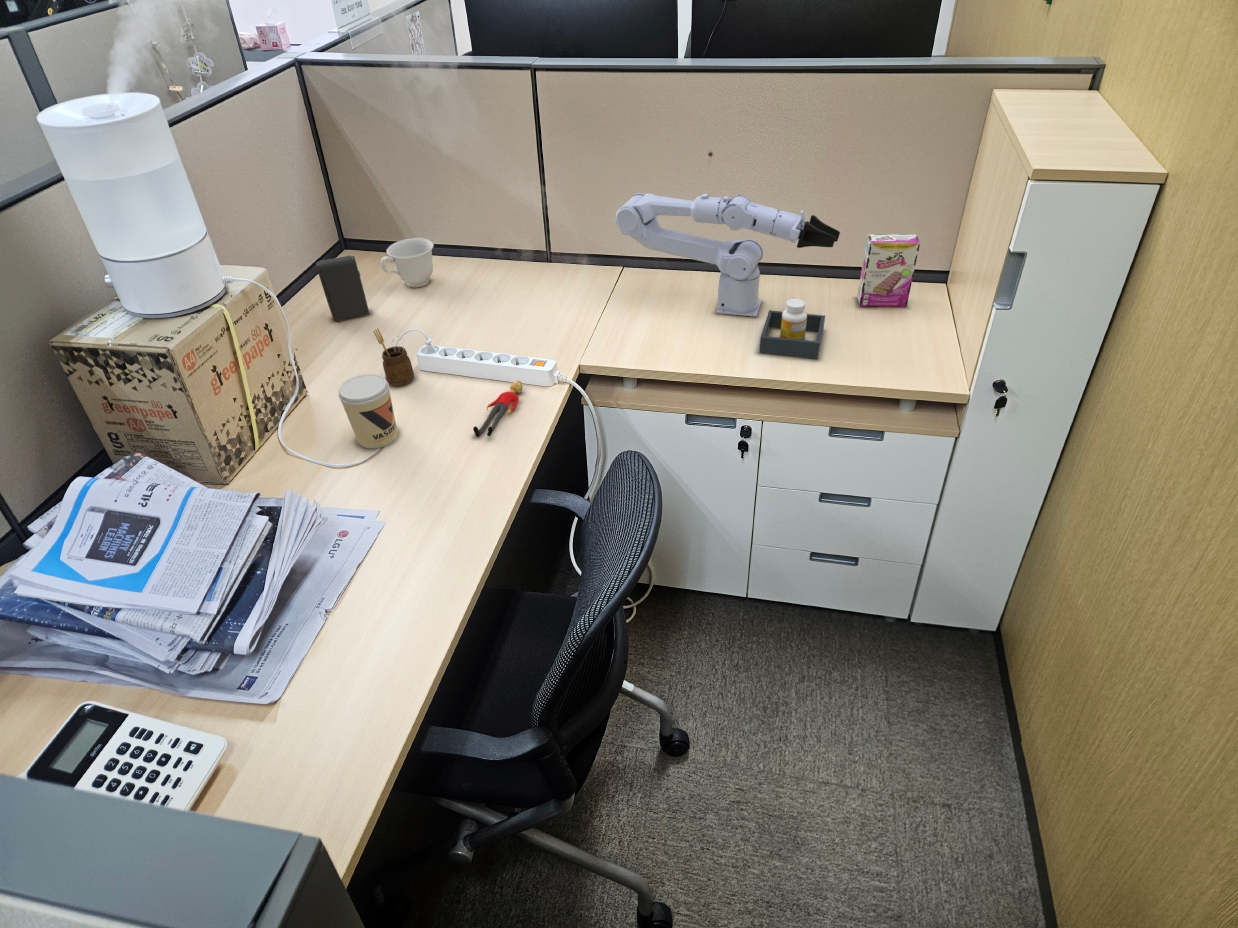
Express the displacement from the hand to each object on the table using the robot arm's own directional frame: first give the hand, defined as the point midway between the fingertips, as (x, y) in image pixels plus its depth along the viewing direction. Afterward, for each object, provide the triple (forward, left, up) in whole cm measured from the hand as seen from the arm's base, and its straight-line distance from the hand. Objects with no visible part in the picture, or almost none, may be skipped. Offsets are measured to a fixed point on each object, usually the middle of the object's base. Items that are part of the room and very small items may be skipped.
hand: (836, 239), depth 172 cm
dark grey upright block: (-114, -21, -20) cm, 118 cm away
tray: (-6, -11, -20) cm, 24 cm away
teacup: (-107, -2, -20) cm, 109 cm away
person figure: (-60, -51, -20) cm, 81 cm away
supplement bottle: (-6, -11, -20) cm, 24 cm away
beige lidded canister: (-81, -65, -20) cm, 106 cm away
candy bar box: (+12, +11, -20) cm, 26 cm away
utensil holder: (-87, -45, -20) cm, 100 cm away
